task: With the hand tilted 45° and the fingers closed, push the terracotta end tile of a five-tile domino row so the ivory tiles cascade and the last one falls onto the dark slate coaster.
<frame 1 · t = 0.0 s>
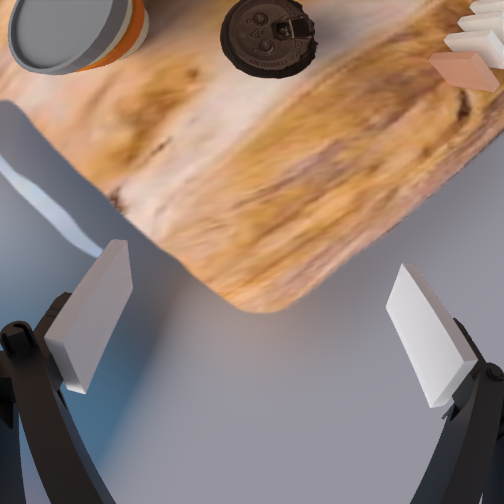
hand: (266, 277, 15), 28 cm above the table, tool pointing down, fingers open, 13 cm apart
coffee cup: (265, 49, 33), on the table
domino 1: (442, 69, 32), on the table
reusable coffee cup: (117, 29, 31), on the table
domino 4: (481, 17, 27), on the table
domino 3: (470, 32, 29), on the table
domino 2: (457, 50, 30), on the table
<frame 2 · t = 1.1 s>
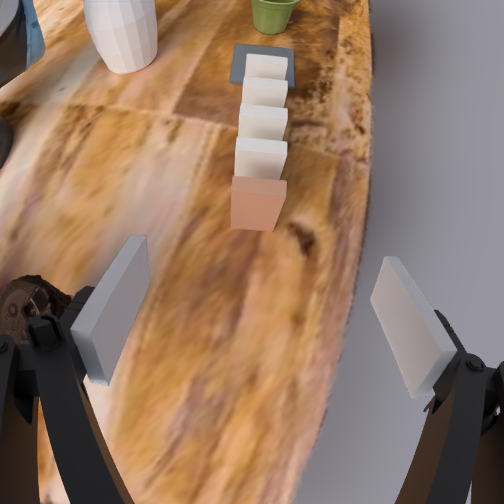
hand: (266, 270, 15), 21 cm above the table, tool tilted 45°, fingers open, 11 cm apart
coffee cup: (83, 328, 34), on the table
domino 1: (252, 223, 39), on the table
slate coaster: (263, 65, 46), on the table
domino 5: (260, 108, 44), on the table
bottle: (132, 59, 46), on the table
domino 4: (258, 132, 42), on the table
domino 3: (256, 159, 41), on the table
plant pot 2: (269, 27, 50), on the table
domino 2: (254, 190, 40), on the table
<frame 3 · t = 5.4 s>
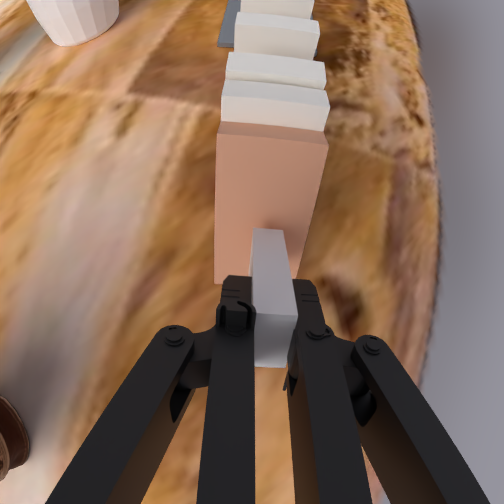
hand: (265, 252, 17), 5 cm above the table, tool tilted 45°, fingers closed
coffee cup: (5, 430, 17), on the table
domino 1: (253, 277, 21), on the table, tilted 30°
slate coaster: (268, 25, 29), on the table
domino 5: (265, 81, 26), on the table
bottle: (86, 28, 29), on the table
domino 4: (263, 117, 25), on the table
domino 3: (260, 162, 24), on the table
domino 2: (257, 215, 22), on the table, tilted 15°
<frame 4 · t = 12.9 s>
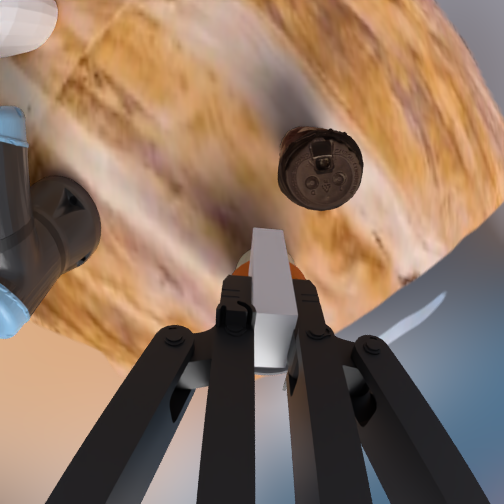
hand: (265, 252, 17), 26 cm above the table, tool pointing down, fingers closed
coffee cup: (305, 147, 40), on the table
reusable coffee cup: (265, 270, 49), on the table
bottle: (36, 23, 29), on the table
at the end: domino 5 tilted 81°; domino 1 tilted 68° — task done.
